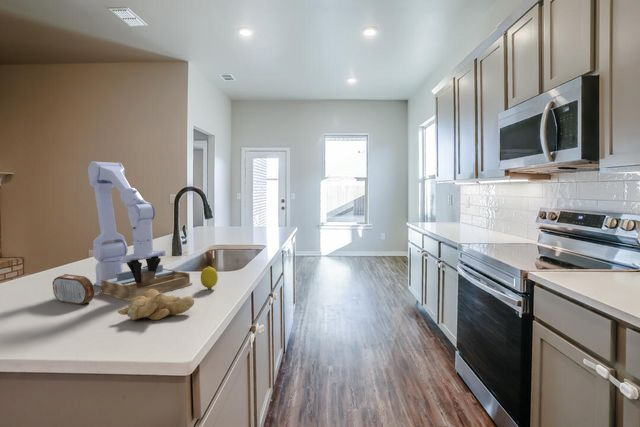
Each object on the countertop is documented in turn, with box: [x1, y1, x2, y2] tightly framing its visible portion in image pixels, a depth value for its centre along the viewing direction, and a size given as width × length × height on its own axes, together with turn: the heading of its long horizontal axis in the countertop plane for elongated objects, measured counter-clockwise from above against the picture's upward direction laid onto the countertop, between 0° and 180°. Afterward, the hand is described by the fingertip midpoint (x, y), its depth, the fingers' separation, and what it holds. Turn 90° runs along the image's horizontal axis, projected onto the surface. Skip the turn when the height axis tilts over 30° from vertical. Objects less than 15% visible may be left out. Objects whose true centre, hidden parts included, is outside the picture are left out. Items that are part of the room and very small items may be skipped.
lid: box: [107, 264, 173, 285], centre depth 126 cm, size 8×20×3 cm, turn 147°
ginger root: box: [117, 289, 195, 321], centre depth 97 cm, size 16×16×8 cm
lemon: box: [200, 265, 219, 290], centre depth 122 cm, size 6×6×8 cm
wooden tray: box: [99, 267, 193, 303], centre depth 124 cm, size 19×23×4 cm
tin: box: [52, 273, 95, 306], centre depth 110 cm, size 15×3×8 cm, turn 70°
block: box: [136, 270, 156, 288], centre depth 119 cm, size 4×4×5 cm
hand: (144, 281), depth 119 cm, fingers open, 4 cm apart
